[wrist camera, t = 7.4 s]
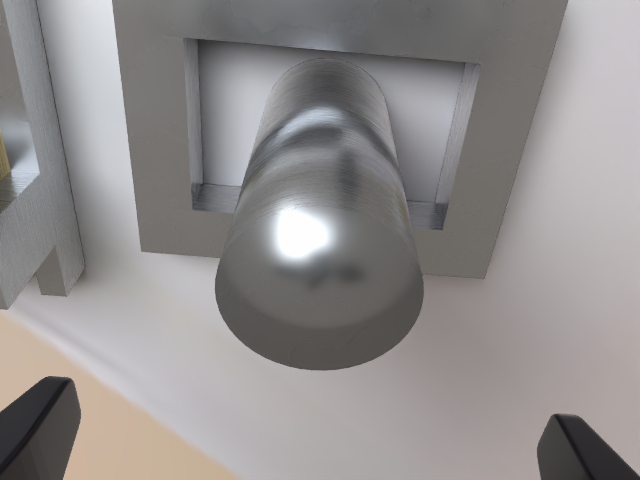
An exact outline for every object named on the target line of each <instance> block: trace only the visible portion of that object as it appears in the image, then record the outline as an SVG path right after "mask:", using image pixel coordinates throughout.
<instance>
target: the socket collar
mask: <svg viewBox="0 0 640 480" xmlns="http://www.w3.org/2000/svg"><path fill="white" fill-rule="evenodd" d="M567 3H568V0H112V4H113V13H114V21H115V30H116V38H117V47H118V55H119V64H120V73H121V81H122V90H123V98H124V107H125V115H126V124H127V133H128V141H129V150H130V158H131V167H132V175H133V184H134V193H135V201H136V210H137V218H138V227H139V235H140V244H141V252H152V253H165V254H178V255H190V256H203V257H216V258H221V255H222V252H223V249H224V245H225V242H226V238H227V235H228V232H229V228H230V225H231V221H232V218H233V215H234V211H235V208H236V204H237V201H238V198H239V194H240V191H241V187H236V186H224V185H212V184H203V162H202V137H201V112H200V86H199V61H198V39H205V40H216V41H228V42H239V43H251V44H262V45H273V46H285V47H296V48H308V49H319V50H330V51H342V52H353V53H365V54H376V55H387V56H399V57H410V58H422V59H433V60H444V61H456V62H466V63H465V67H464V72H463V76H462V81H461V85H460V90H459V94H458V99H457V103H456V108H455V113H454V117H453V122H452V126H451V131H450V135H449V140H448V144H447V149H446V153H445V158H444V162H443V167H442V172H441V176H440V181H439V185H438V190H437V194H436V199H435V203H431V202H419V201H407V200H406V202H407V207H408V211H409V216H410V221H411V226H412V231H413V235H414V240H415V245H416V250H417V255H418V259H419V264H420V269H421V274H430V275H443V276H456V277H468V278H481V279H484V278H485V274H486V271H487V268H488V265H489V261H490V258H491V255H492V251H493V248H494V245H495V241H496V238H497V235H498V231H499V228H500V225H501V222H502V218H503V215H504V212H505V208H506V205H507V202H508V198H509V195H510V192H511V188H512V185H513V182H514V179H515V175H516V172H517V169H518V165H519V162H520V159H521V155H522V152H523V149H524V145H525V142H526V139H527V136H528V132H529V129H530V126H531V122H532V119H533V116H534V112H535V109H536V106H537V102H538V99H539V96H540V93H541V89H542V86H543V83H544V79H545V76H546V73H547V69H548V66H549V63H550V59H551V56H552V53H553V50H554V46H555V43H556V40H557V36H558V33H559V30H560V26H561V23H562V20H563V16H564V13H565V10H566V7H567Z"/></svg>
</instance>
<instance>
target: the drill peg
mask: <svg viewBox="0 0 640 480" xmlns="http://www.w3.org/2000/svg"><path fill="white" fill-rule="evenodd" d="M215 294H216V301H217V304H218V308H219V311H220V313H221V315H222V317H223V320H224V321H225V323H226V324H227V326H228V327H229V329H230V330H231V331H232V332H233V334H234V335H235V336H236V337H237V338H238V339H239V340H240V341H241V342H242V343H244V344H245V345H246V346H247V347H249V348H250V349H251V350H253V351H254V352H256V353H258V354H259V355H261V356H263V357H265V358H267V359H269V360H272V361H274V362H277V363H280V364H283V365H286V366H290V367H294V368H299V369H307V370H337V369H343V368H349V367H353V366H356V365H360V364H363V363H366V362H368V361H371V360H373V359H375V358H377V357H379V356H381V355H383V354H384V353H386V352H387V351H389V350H390V349H392V348H393V347H394V346H395V345H397V344H398V343H399V342H400V341H401V340H402V339H403V338H404V337H405V336H406V335H407V334H408V332H409V331H410V330H411V328H412V327H413V325H414V324H415V322H416V320H417V318H418V316H419V313H420V310H421V306H422V302H423V295H424V290H423V279H422V274H421V269H420V264H419V259H418V255H417V250H416V245H415V240H414V235H413V231H412V226H411V221H410V216H409V211H408V207H407V202H406V197H405V192H404V187H403V183H402V178H401V173H400V168H399V164H398V159H397V154H396V149H395V144H394V140H393V135H392V130H391V125H390V120H389V116H388V111H387V106H386V102H385V99H384V96H383V93H382V91H381V90H380V88H379V86H378V85H377V83H376V82H375V81H374V79H373V78H372V77H371V76H370V75H369V74H368V73H366V72H365V71H364V70H363V69H361V68H359V67H358V66H356V65H354V64H352V63H349V62H347V61H343V60H340V59H333V58H319V59H313V60H309V61H305V62H303V63H300V64H298V65H296V66H294V67H293V68H291V69H290V70H288V71H287V72H286V73H284V74H283V75H282V76H281V77H280V78H279V80H278V81H277V82H276V84H275V85H274V86H273V88H272V90H271V92H270V94H269V97H268V99H267V103H266V106H265V109H264V113H263V116H262V120H261V123H260V126H259V130H258V133H257V137H256V140H255V143H254V147H253V150H252V154H251V157H250V160H249V164H248V167H247V170H246V174H245V177H244V181H243V184H242V187H241V191H240V194H239V198H238V201H237V204H236V208H235V211H234V215H233V218H232V221H231V225H230V228H229V232H228V235H227V238H226V242H225V245H224V249H223V252H222V255H221V259H220V262H219V266H218V269H217V274H216V278H215Z"/></svg>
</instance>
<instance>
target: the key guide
mask: <svg viewBox="0 0 640 480" xmlns="http://www.w3.org/2000/svg"><path fill="white" fill-rule="evenodd" d="M0 130H1V134H2V138H3V142H4V146H5V150H6V154H7V158H8V162H9V166H10V170H11V171H10V172H9V173H8V174H7V175H6V176H5V177H4V178H3V179H1V180H0V309H5V310H8V309H9V307H10V306H11V305H12V303H13V302H14V300H15V299H16V298H17V296H18V295H19V294H20V292H21V291H22V290H23V288H24V287H25V286H26V284H27V283H28V282H29V280H30V279H31V277H32V276H33V275H34V273H35V272H36V274H37V278H38V282H39V286H40V290H41V294H42V295H54V296H66V297H67V295H68V294H69V292H70V291H71V289H72V287H73V286H74V284H75V283H76V281H77V279H78V278H79V276H80V275H81V273H82V271H83V270H84V268H85V262H84V257H83V251H82V246H81V241H80V235H79V230H78V225H77V219H76V214H75V209H74V203H73V198H72V193H71V187H70V182H69V176H68V171H67V166H66V160H65V155H64V150H63V144H62V139H61V134H60V128H59V123H58V118H57V112H56V107H55V102H54V96H53V91H52V86H51V80H50V75H49V70H48V64H47V59H46V53H45V48H44V43H43V37H42V32H41V27H40V21H39V16H38V11H37V5H36V0H0Z"/></svg>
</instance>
